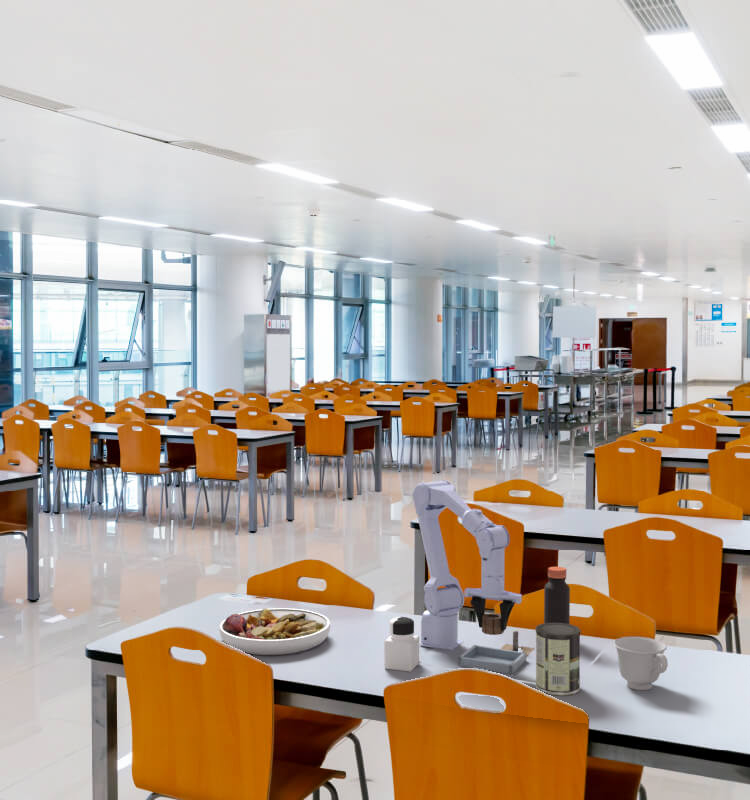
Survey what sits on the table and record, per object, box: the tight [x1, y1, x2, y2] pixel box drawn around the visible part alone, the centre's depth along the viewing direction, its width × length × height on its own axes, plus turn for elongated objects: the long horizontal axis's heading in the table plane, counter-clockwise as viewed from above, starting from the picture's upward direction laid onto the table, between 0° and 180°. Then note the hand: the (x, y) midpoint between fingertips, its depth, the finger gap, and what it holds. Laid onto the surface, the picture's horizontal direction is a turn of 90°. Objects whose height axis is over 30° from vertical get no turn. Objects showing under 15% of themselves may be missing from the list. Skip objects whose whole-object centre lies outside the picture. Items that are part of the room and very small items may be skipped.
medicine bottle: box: [383, 616, 420, 673], centre depth 229 cm, size 7×7×12 cm
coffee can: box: [535, 622, 581, 696], centre depth 214 cm, size 10×10×14 cm
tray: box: [458, 644, 527, 675], centre depth 230 cm, size 14×11×2 cm
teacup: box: [613, 636, 668, 691], centre depth 213 cm, size 12×15×10 cm
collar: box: [481, 612, 505, 636], centre depth 229 cm, size 5×5×4 cm
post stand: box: [500, 630, 536, 657], centre depth 239 cm, size 8×8×6 cm
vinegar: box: [543, 566, 571, 624], centre depth 248 cm, size 7×7×20 cm
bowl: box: [219, 607, 331, 656], centre depth 250 cm, size 30×30×8 cm
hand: (492, 628), depth 229 cm, fingers closed on collar, 5 cm apart
